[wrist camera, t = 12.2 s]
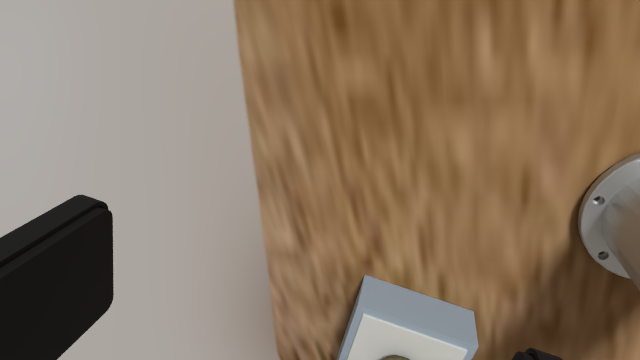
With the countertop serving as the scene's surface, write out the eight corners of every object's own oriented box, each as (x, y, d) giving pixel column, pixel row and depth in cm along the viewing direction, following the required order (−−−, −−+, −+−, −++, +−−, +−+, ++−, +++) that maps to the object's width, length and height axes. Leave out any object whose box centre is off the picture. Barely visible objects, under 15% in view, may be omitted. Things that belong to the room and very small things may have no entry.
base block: (473, 311, 44) (478, 349, 39) (435, 384, 49) (435, 426, 44) (364, 274, 45) (357, 306, 40) (339, 349, 50) (329, 386, 46)
